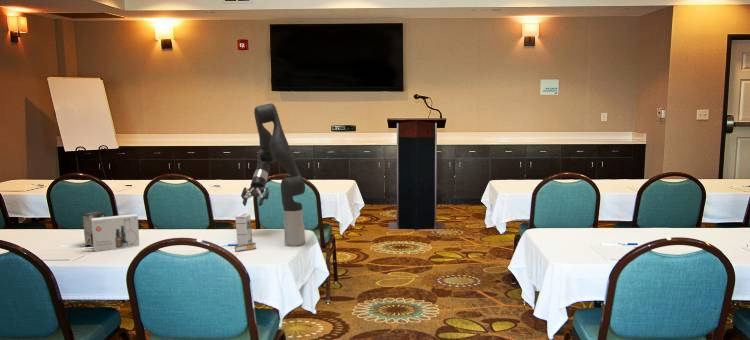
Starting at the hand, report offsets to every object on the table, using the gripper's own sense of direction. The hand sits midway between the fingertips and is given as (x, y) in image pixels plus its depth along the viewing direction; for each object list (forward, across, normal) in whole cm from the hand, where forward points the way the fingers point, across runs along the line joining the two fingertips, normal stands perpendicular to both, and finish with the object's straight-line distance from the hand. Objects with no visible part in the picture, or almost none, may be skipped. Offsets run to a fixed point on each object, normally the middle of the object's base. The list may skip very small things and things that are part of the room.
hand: (251, 205), depth 310 cm
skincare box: (+32, -61, -7) cm, 69 cm away
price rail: (+29, +6, -5) cm, 30 cm away
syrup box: (+20, 0, +4) cm, 21 cm away
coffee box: (+27, -77, -3) cm, 82 cm away
